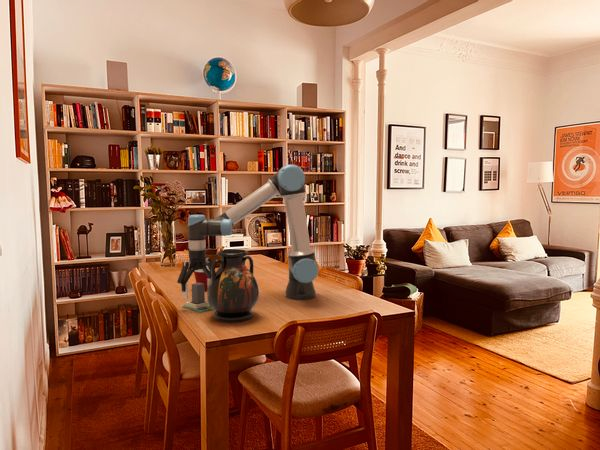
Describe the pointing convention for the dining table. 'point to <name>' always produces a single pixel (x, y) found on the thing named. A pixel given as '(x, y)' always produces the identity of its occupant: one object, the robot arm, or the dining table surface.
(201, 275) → the plastic cup
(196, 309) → the board
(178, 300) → the dining table surface
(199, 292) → the dark grey rectangular block
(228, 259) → the amphora vase
